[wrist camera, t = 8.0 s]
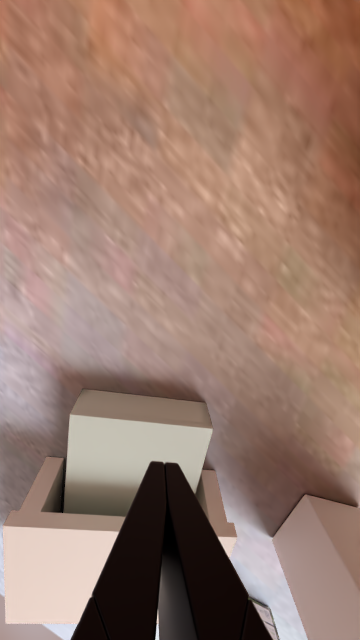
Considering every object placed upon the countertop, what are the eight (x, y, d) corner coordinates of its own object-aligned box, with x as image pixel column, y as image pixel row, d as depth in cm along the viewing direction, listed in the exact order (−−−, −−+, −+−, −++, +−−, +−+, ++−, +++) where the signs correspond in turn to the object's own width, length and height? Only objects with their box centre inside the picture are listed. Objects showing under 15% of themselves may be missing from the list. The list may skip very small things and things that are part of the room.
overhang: (40, 456, 22) (2, 526, 16) (220, 471, 24) (237, 537, 19) (37, 542, 25) (5, 623, 20) (195, 549, 27) (204, 624, 22)
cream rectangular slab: (82, 388, 20) (69, 414, 17) (206, 402, 21) (213, 428, 18) (71, 529, 25) (59, 567, 22) (172, 533, 26) (173, 570, 23)
